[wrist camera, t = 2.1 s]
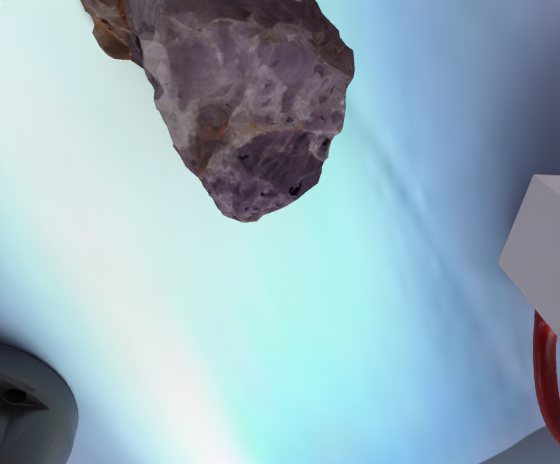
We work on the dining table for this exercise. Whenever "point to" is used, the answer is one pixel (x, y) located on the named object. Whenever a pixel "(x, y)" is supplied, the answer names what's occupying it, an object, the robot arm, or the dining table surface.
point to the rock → (238, 89)
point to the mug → (546, 374)
